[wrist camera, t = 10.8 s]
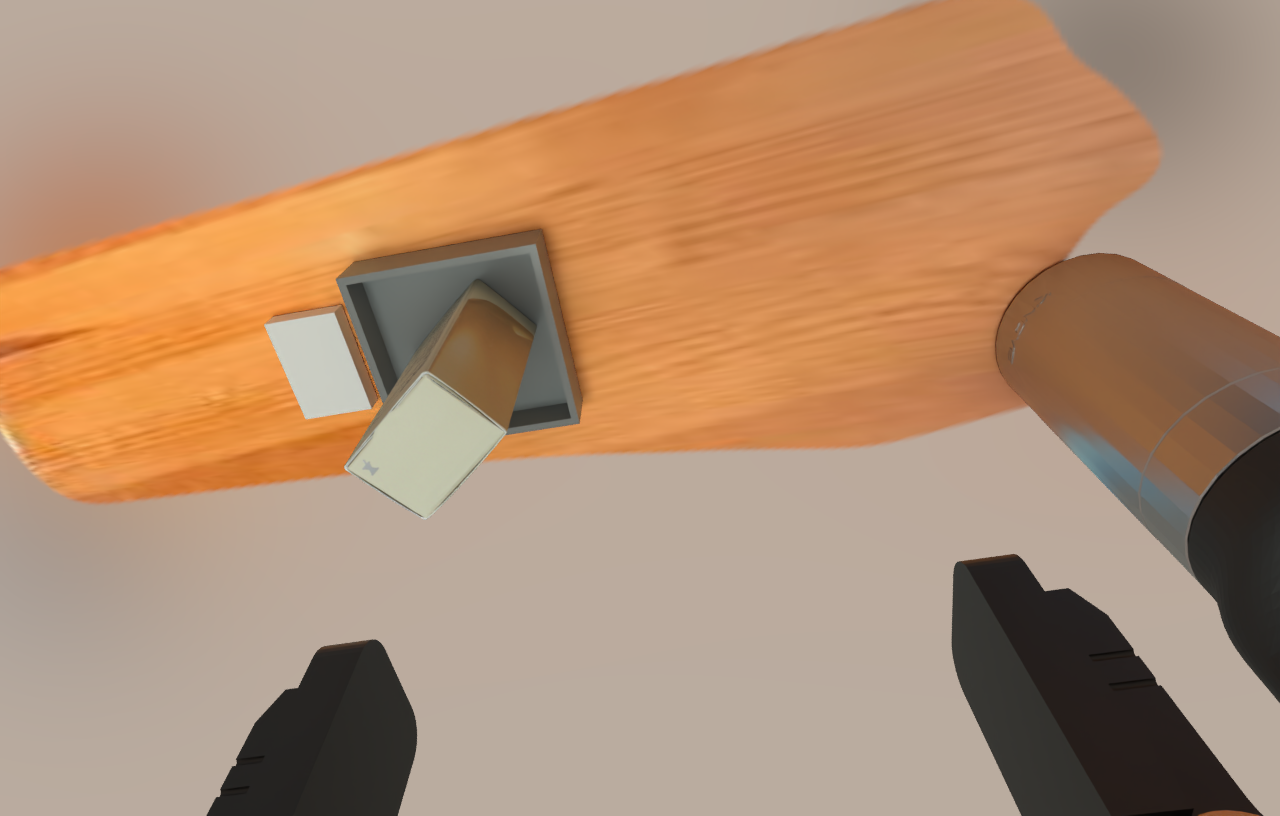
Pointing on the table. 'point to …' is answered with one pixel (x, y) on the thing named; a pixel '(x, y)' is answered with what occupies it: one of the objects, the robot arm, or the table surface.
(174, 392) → the table surface
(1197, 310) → the robot arm
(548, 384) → the grey open tray
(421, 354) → the skincare box
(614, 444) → the table surface
